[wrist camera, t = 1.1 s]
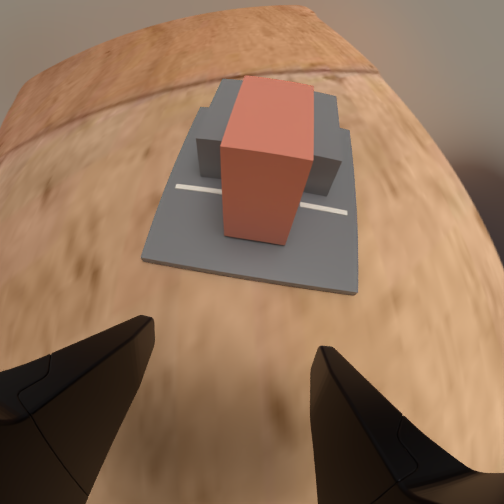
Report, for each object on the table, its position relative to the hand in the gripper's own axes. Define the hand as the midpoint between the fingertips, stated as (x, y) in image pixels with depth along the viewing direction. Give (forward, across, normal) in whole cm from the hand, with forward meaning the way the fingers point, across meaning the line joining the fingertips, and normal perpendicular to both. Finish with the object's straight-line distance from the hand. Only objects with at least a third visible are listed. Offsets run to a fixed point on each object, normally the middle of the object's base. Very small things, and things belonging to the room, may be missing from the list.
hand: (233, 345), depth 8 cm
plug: (+19, 0, -1) cm, 19 cm away
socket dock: (+21, 0, -2) cm, 21 cm away
